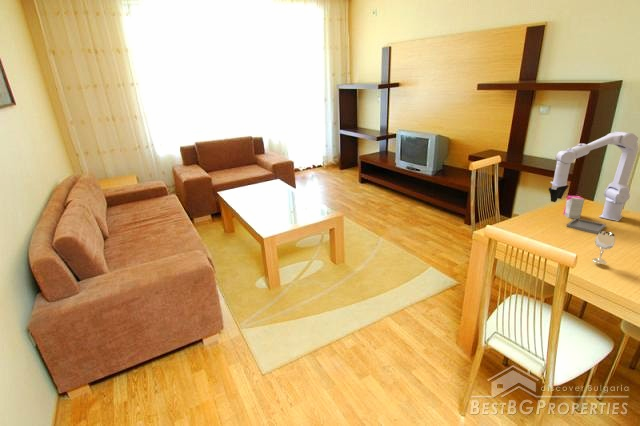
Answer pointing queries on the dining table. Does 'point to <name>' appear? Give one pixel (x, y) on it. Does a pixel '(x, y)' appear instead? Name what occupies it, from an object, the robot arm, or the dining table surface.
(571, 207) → the supplement box
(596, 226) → the tray
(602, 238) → the wineglass
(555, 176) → the robot arm
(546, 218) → the dining table surface
